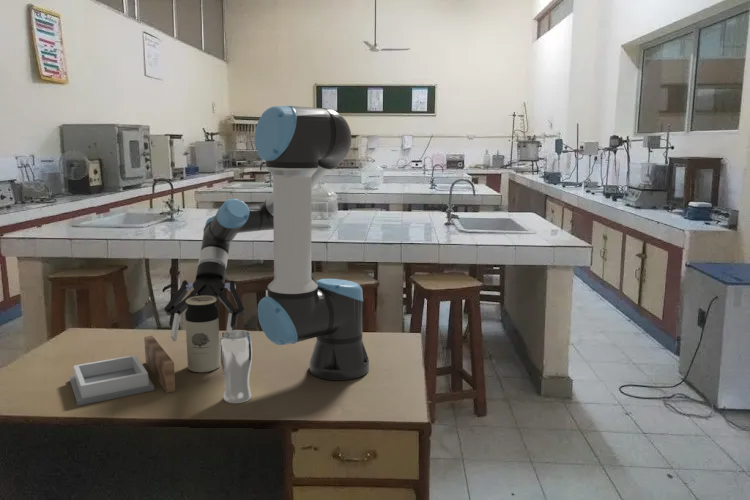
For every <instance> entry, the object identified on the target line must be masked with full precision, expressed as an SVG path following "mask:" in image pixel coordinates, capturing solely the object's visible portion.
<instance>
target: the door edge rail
mask: <svg viewBox="0 0 750 500" xmlns="http://www.w3.org/2000/svg"><path fill="white" fill-rule="evenodd" d="M143 338H144V340H143V341H144V353H145V358H144V359H145V364H146V365H147V366H148V368H149V369H150V371H151V372H152V374H153V376H154V377H155V379H156V380H157V381H158V383H159V384H160V386H161V387H162V388H163V390H164V392H165V393H166V394H169V393H172V392H176V379H175V378H176V377H175V374H176V373H175V362H174V360H173V359H172V358H171V357H170V356H169V354H168V353H167V352H166V351H165V350H164V348H163V347H162V346H161V344H159V342H158V341H157V339H156V338H155V337H154V336H153V335H149V336H144V337H143Z"/></svg>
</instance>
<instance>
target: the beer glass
mask: <svg viewBox="0 0 750 500" xmlns="http://www.w3.org/2000/svg"><path fill="white" fill-rule="evenodd" d="M251 334H252V333H251V332H250V331H248V330H246V329H244V330H243V329H232V330H231V331H226V330H225V331H224V332H221V333H220V334H219V345H220V366H221V369H222V373H223V378H224V392H223V393H224V394H223V401H225V402H226V403H228V404H234V405H235V404H242V403H245V402H246V403H247V402H248V401H250V400H251V398H252V392H251V387H250V373H251V369H252V363H253V362H252V360H253V345H252V336H251Z"/></svg>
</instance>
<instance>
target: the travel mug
mask: <svg viewBox="0 0 750 500" xmlns="http://www.w3.org/2000/svg"><path fill="white" fill-rule="evenodd" d="M217 299H218V298H217V297H216V298H215V297H213V296H195V297H191V298H188V299H187V300H186V303H187V306H188V308H187V309H186V310H185V312H184V314H185V316H184V317H185V335H186V337H185V339H186V352H187V353H186V355H187V356H186V357H187V359H186V360H187V369H188V370H189V371H191V372H193V373H208V372H209V373H210V372H212V371H215V370H217V369H218V368H219V367H220V366H221V359H220V325H219V324H220V323H219V321H220V320H219V309H218V308H217V307H216V303H217Z"/></svg>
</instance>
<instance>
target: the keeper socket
mask: <svg viewBox="0 0 750 500" xmlns="http://www.w3.org/2000/svg"><path fill="white" fill-rule="evenodd" d="M73 374H74V375H72V376H69V382H70V385H71V388H72V391H73V394H74V398H75V401H76V405H77V406H78V407H79V406H84V405H90V404H93V403H98V402H103V401H108V400H113V399H118V398H123V397H129V396H133V395H136V394H137V395H138V394H141V393H142V394H143V393H146V392H147V393H149V392H151V391H155V384H153V382H152V381H151V378H150V377H149V372H148V371H147V370H146V368H145V367H144V365H143V363H142V362H141V361H140V359H139V358H138V356H137V354H132V355H128V356H121V357H116V358H108V359H104V360H99V361H93V362H86V363H81V364H75V365H73Z"/></svg>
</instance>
